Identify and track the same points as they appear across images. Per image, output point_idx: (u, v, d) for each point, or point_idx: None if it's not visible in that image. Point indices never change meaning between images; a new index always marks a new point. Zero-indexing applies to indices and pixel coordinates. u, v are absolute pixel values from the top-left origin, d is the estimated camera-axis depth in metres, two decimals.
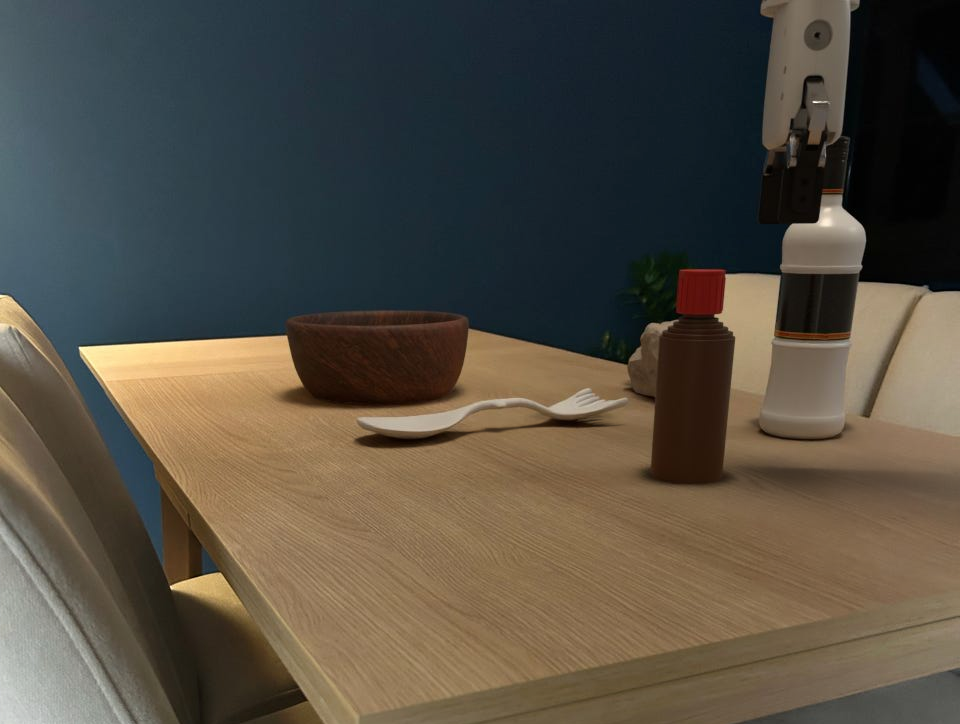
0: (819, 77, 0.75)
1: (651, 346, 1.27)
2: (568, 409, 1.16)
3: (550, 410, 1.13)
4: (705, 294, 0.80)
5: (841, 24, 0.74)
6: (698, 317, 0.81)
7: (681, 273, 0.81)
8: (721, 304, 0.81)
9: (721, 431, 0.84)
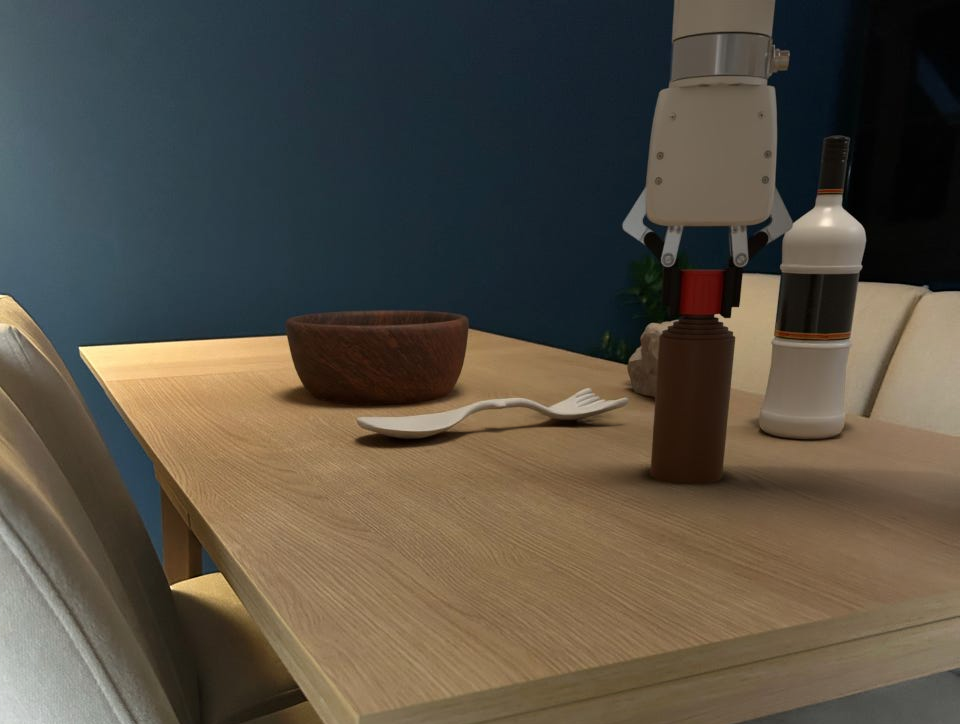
0: None
1: (651, 346, 1.27)
2: (568, 409, 1.16)
3: (550, 410, 1.13)
4: (705, 294, 0.80)
5: None
6: (698, 317, 0.81)
7: (681, 273, 0.81)
8: (721, 304, 0.81)
9: (721, 431, 0.84)
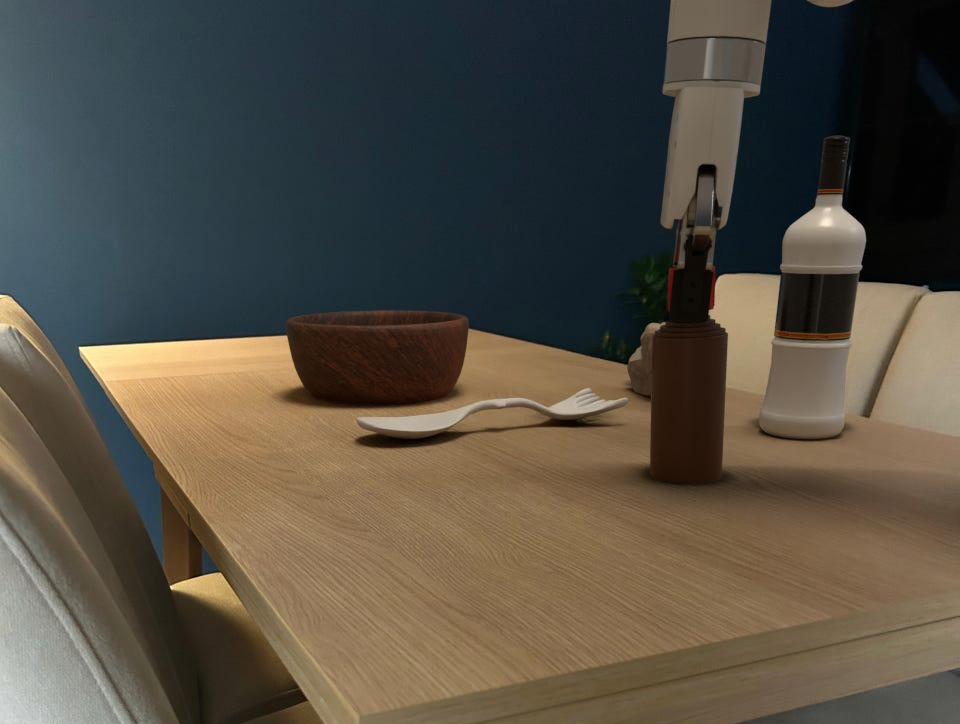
0: None
1: (651, 346, 1.27)
2: (568, 409, 1.16)
3: (550, 410, 1.13)
4: None
5: None
6: None
7: None
8: None
9: (718, 427, 0.84)
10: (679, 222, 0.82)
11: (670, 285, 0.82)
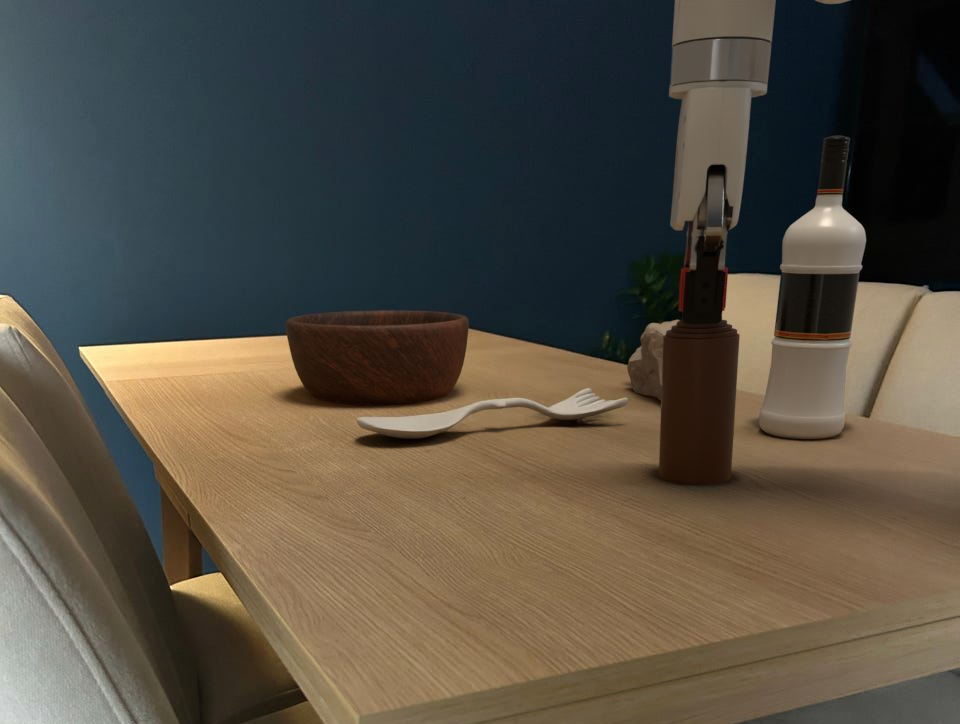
0: None
1: (651, 346, 1.27)
2: (568, 409, 1.16)
3: (550, 410, 1.13)
4: None
5: None
6: None
7: None
8: None
9: (728, 428, 0.84)
10: (689, 224, 0.82)
11: (682, 285, 0.81)
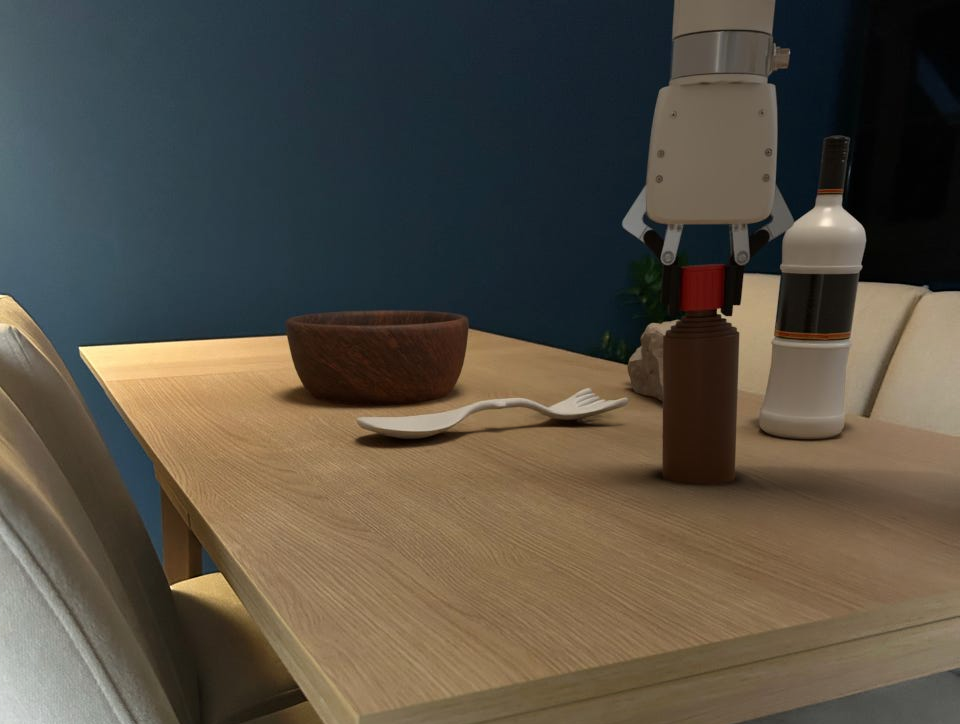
0: None
1: (651, 346, 1.27)
2: (568, 409, 1.16)
3: (550, 410, 1.13)
4: None
5: None
6: (701, 315, 0.81)
7: None
8: None
9: (731, 427, 0.84)
10: None
11: (712, 282, 0.80)
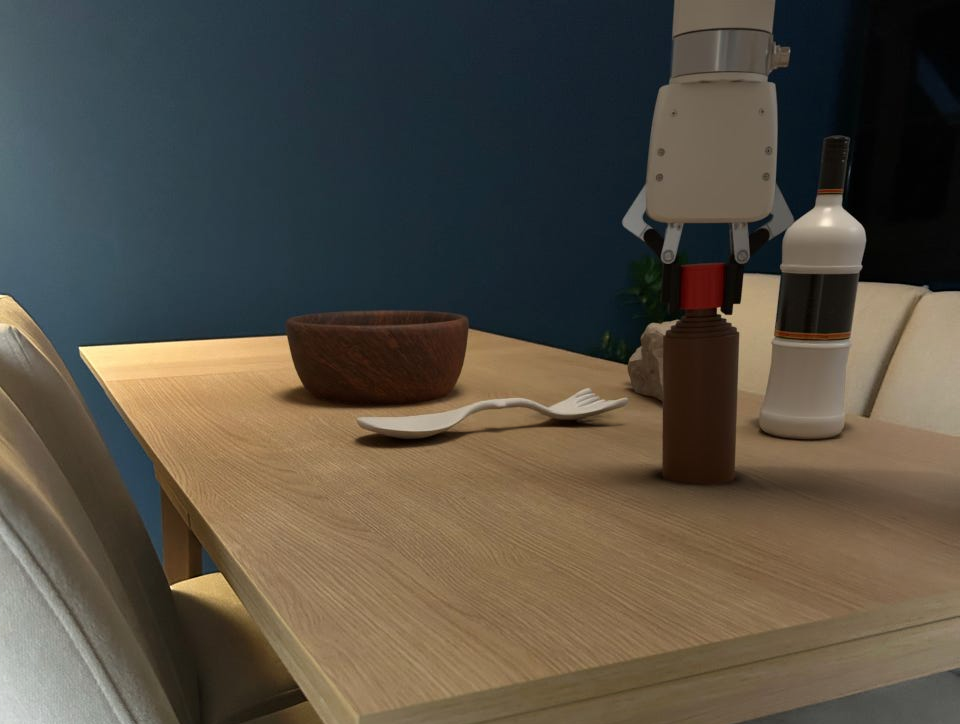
0: None
1: (651, 346, 1.27)
2: (568, 409, 1.16)
3: (550, 410, 1.13)
4: (680, 289, 0.81)
5: None
6: (701, 315, 0.81)
7: None
8: (696, 299, 0.80)
9: (731, 427, 0.84)
10: None
11: None
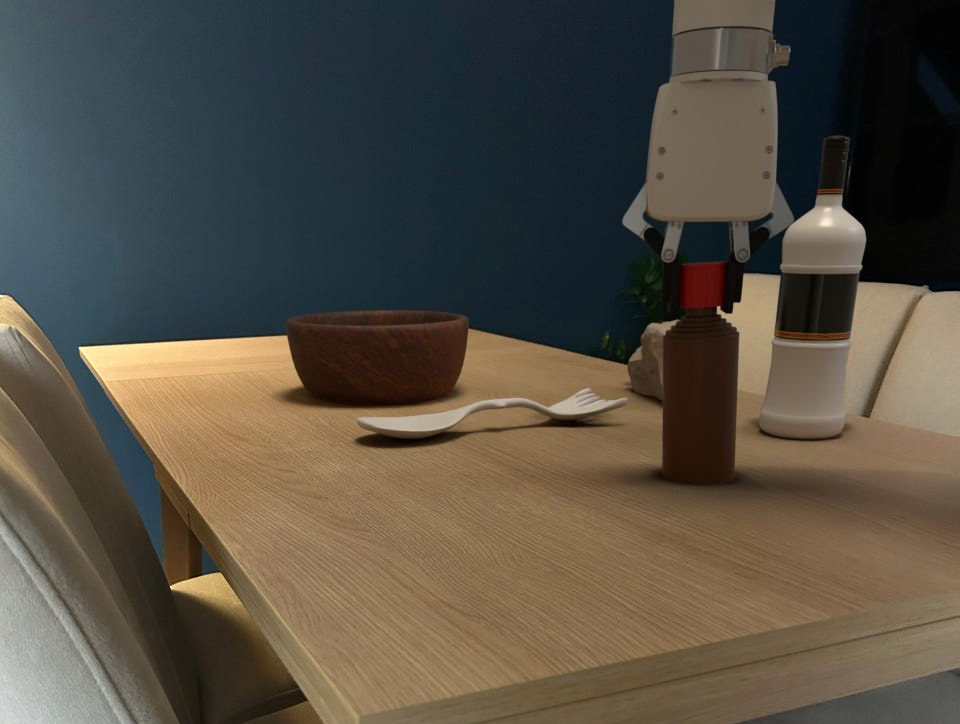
0: None
1: (652, 346, 1.27)
2: (568, 409, 1.16)
3: (550, 410, 1.13)
4: (710, 286, 0.80)
5: None
6: (701, 315, 0.81)
7: (683, 267, 0.80)
8: None
9: (731, 426, 0.84)
10: None
11: None
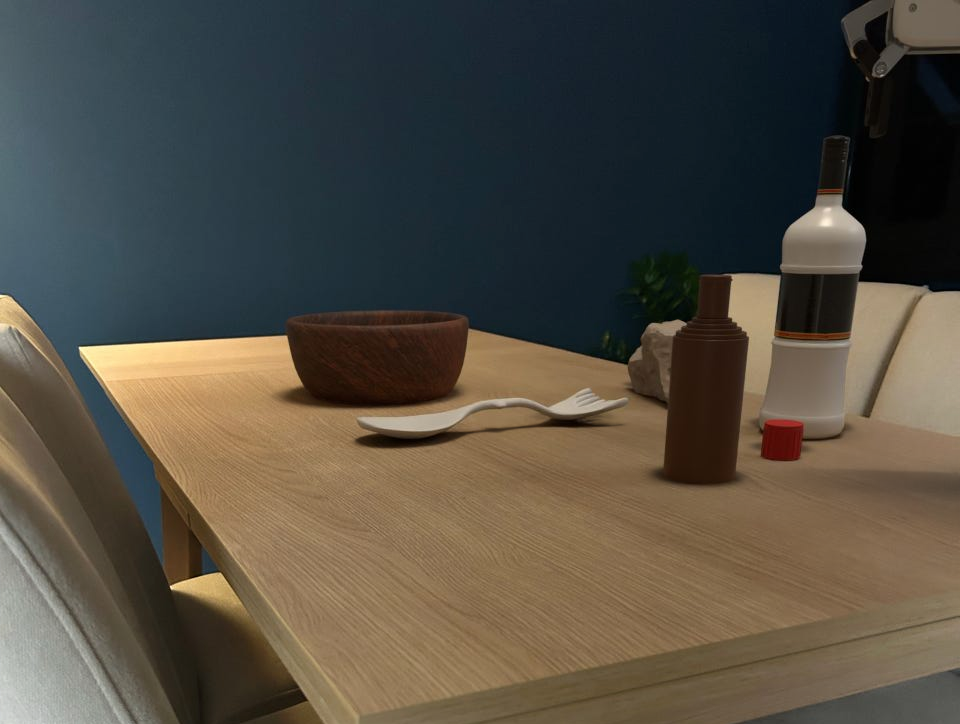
0: None
1: (652, 346, 1.27)
2: (568, 409, 1.16)
3: (550, 410, 1.13)
4: None
5: None
6: (713, 317, 0.81)
7: None
8: None
9: (735, 430, 0.84)
10: None
11: (794, 439, 0.96)
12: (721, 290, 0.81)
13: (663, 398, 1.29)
